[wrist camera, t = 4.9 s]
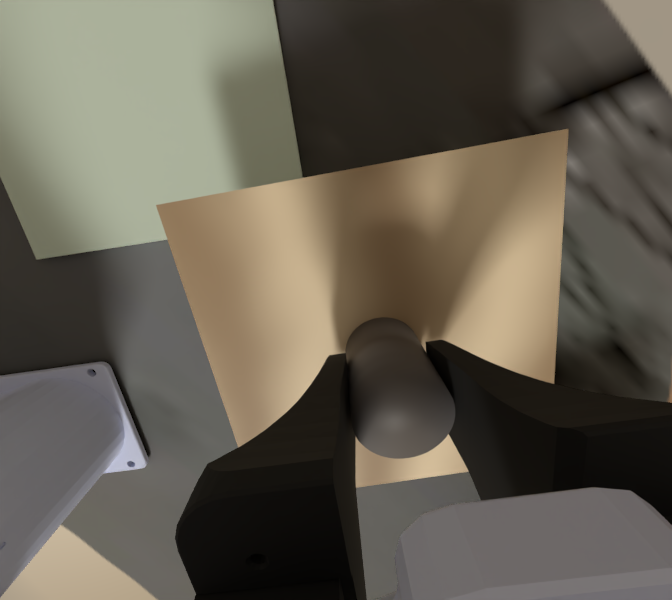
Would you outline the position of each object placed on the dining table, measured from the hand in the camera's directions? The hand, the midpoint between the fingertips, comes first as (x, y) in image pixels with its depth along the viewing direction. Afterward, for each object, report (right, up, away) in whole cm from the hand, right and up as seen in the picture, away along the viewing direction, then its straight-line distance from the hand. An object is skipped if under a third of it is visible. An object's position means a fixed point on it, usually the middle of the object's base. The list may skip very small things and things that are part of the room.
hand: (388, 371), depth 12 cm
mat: (-12, +13, +3) cm, 18 cm away
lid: (0, +1, +2) cm, 2 cm away
